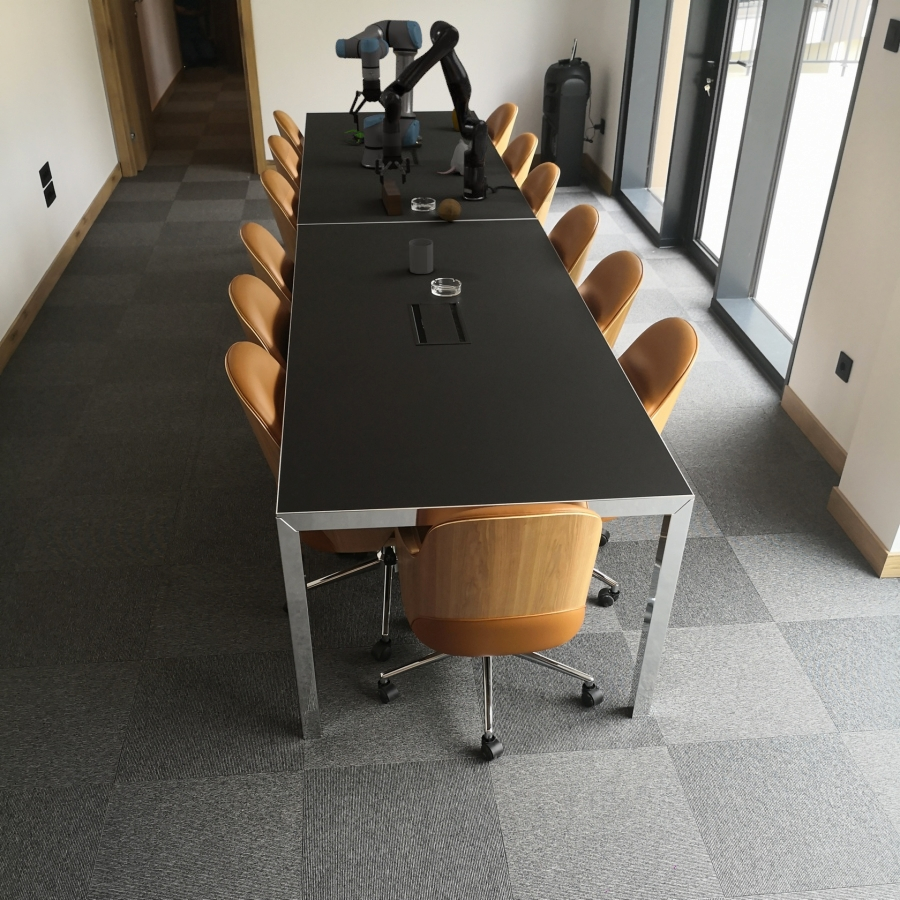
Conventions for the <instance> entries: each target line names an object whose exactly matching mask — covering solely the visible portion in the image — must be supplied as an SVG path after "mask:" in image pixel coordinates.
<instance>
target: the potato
mask: <svg viewBox="0 0 900 900" xmlns="http://www.w3.org/2000/svg"><path fill="white" fill-rule="evenodd" d="M461 212H462V205H461V204H460V203H459V202H458V201H457V200H456V199H453V198H445V199H443V200H442V201H441V202H440V203H439V204H438V207H437V215H438V216H439V217H440V218H441V219H442V220H444V221H447V222H454V221H456V220H457V219H458V218H460V215H461Z"/></svg>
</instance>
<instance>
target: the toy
mask: <svg viewBox="0 0 900 900" xmlns="http://www.w3.org/2000/svg"><path fill="white" fill-rule="evenodd" d="M458 142H459V143H457V145H456V146H455V149H454V152H453V155H452V159H451V160H450V169H448V170H446V171H443V172H441V171H437V174H441V175H448V174H450V173H453V174H455V173H456V172H457V173H460V175H461V176H464V151H465V150H467V149H471V148H472V141H469V144H466V143H465V142H464V139H463V138H460V139H459V141H458Z"/></svg>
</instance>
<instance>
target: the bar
mask: <svg viewBox="0 0 900 900" xmlns="http://www.w3.org/2000/svg"><path fill="white" fill-rule="evenodd" d="M380 184H381V200H382V203H383V205H384V208H385V210H386V212H387V215H388V216H402V194H401V191H400V190H399V187H398V186H397V183H396V181H395V180H394V178H389V179H384V185H382V183H380Z"/></svg>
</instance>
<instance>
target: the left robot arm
mask: <svg viewBox="0 0 900 900" xmlns="http://www.w3.org/2000/svg"><path fill="white" fill-rule="evenodd" d="M422 46H423V33H422V29H421V26H420V24H419V22H418V21H416V20H409V19H406V20H405V19H403V20H402V19H384V20H383V19H382V20H379V21H375V22H374V23H371V24H369V25H367V26H366V27H365V29H364V30H362V31H361V32H359V33H357V34H355V35H353V36H351V37H350V38H338V39H337V40H336V41H335V46H334V47H335V48H334V49H335V54H336V56H337V57H338V58H339V59H353V60H355V59H357V60H361V77H362V91H360V90H355V97H354V99H353V101H352V104H351V106H350V109H349V111H348V114H349V115H352V116H353V124H356V130H357V132H356V133H358V132H359V130H360V123H359V112H360V111H361V110H362V108H363V107H364V105H366V103H376V102H378V103H379V104H380V106H382V107H383V108H384V110H385V107H384V106H383V105H382V104H381V102H380V96H381V94H382V92H383V91H384V90H382V88H381V79H380V78H381V66H380V65H381V64H380V61H381V60H383V59H385V58H386V57H387V56H388V55H389V52H390V49H391V48H392V53H393V54H394V55H395V80H396V79H397V78H398V76H399V75H400V74H401V73H402V72H403V70H404V69H405V68H406V67H407V66H408V65H409V64H410V63H411V62H413V61H414V60H415V57H416V56H417V55H418V53H419V50H420V49H422ZM395 80H394V81H395ZM361 96H363V98H362V101H361V102H360V103H359V104H358V106H357V107H356V104H357V102H358V99H359V98H360V97H361ZM401 101H402V109H401V117H400V133H401V146H413V145H415V144H416V143H417V141H418V138H419V134H420V129H421V128H420V127H421V126H420V121H419V120H418V119H417V118H416V117H417V116H416V114H415V113H414V88H413V89H412V90H411V91H410V92H408V93H405V94H404V95H403V96H402V97H401ZM355 107H356V109H355ZM354 109H355V110H354ZM384 117H385V113H379V114H373V115H370V116H366V117H365V118H364V119H363V133H364V142H363V143H364V151H363V154H362V159H361V166H362V167H363V168H366V169H371V170H375V159H376V158H378V159H382V158H383V143H382V137H383V118H384ZM383 166H384V164H383V162H381V164H380V165H379V170H381V169H382V167H383Z"/></svg>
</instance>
